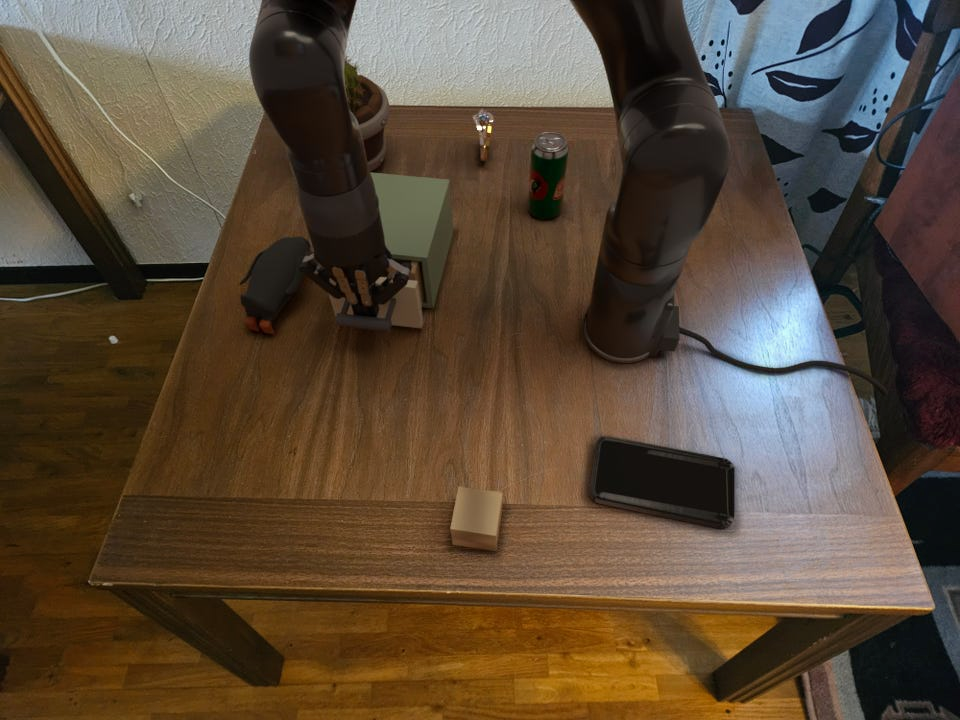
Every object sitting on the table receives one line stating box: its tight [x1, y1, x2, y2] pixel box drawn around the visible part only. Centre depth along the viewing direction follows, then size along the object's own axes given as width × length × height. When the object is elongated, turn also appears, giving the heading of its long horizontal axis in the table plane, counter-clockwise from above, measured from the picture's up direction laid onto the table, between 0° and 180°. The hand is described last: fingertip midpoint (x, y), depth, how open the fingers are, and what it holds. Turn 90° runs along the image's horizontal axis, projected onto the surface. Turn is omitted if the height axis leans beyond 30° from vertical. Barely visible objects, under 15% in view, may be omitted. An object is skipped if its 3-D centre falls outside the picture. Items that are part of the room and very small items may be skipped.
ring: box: [472, 108, 495, 162], centre depth 99 cm, size 7×3×8 cm, turn 178°
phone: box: [588, 435, 736, 530], centre depth 69 cm, size 8×1×15 cm
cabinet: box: [370, 172, 454, 309], centre depth 85 cm, size 15×13×10 cm
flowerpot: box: [344, 53, 391, 173], centre depth 94 cm, size 14×15×20 cm
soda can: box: [527, 131, 570, 220], centre depth 90 cm, size 5×5×12 cm
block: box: [449, 485, 504, 552], centre depth 65 cm, size 5×5×5 cm
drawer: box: [327, 258, 425, 333], centre depth 81 cm, size 18×11×8 cm, turn 171°
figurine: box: [238, 236, 312, 335], centre depth 83 cm, size 7×10×15 cm
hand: (368, 317), depth 78 cm, fingers closed
